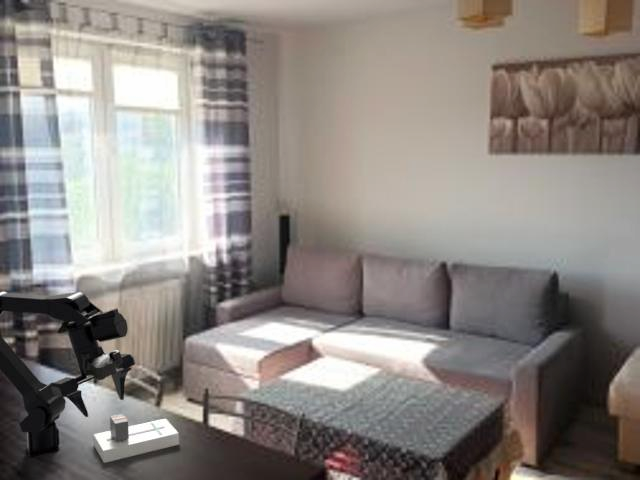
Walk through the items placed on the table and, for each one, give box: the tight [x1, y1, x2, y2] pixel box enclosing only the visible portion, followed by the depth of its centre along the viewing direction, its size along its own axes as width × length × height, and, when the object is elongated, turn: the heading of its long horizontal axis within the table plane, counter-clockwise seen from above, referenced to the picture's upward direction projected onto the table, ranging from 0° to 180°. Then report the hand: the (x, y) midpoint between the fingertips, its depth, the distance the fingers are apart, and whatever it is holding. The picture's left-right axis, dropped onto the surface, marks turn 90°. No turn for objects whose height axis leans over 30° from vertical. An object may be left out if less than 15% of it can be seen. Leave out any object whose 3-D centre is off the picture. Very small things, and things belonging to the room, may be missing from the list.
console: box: [93, 418, 180, 464], centre depth 157 cm, size 18×10×3 cm, turn 122°
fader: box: [109, 413, 129, 442], centre depth 154 cm, size 3×5×5 cm, turn 32°
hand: (104, 408), depth 151 cm, fingers open, 9 cm apart
